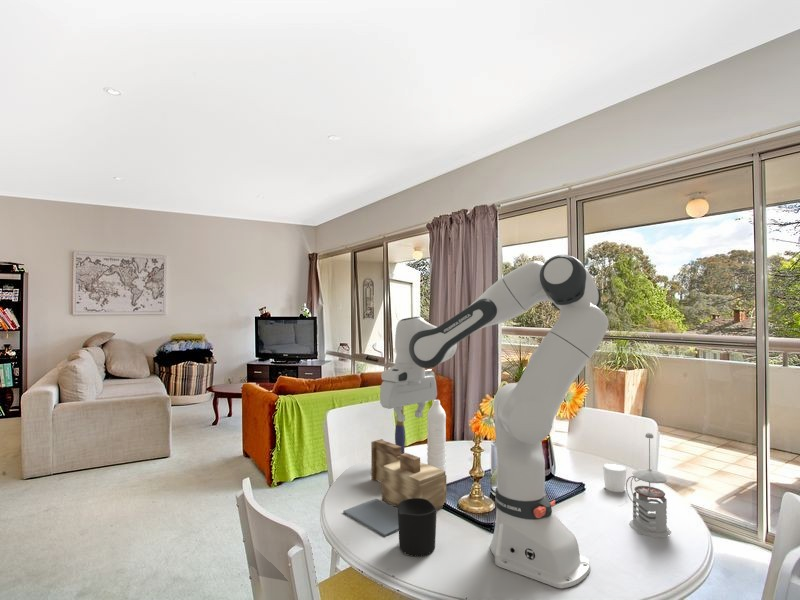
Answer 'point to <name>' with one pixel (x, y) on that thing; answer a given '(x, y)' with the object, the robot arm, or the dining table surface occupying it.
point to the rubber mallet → (400, 433)
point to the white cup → (614, 477)
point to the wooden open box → (412, 490)
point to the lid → (413, 469)
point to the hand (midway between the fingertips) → (409, 419)
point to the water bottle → (436, 436)
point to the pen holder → (417, 526)
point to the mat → (376, 516)
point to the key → (388, 447)
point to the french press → (649, 521)
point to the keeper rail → (380, 461)
